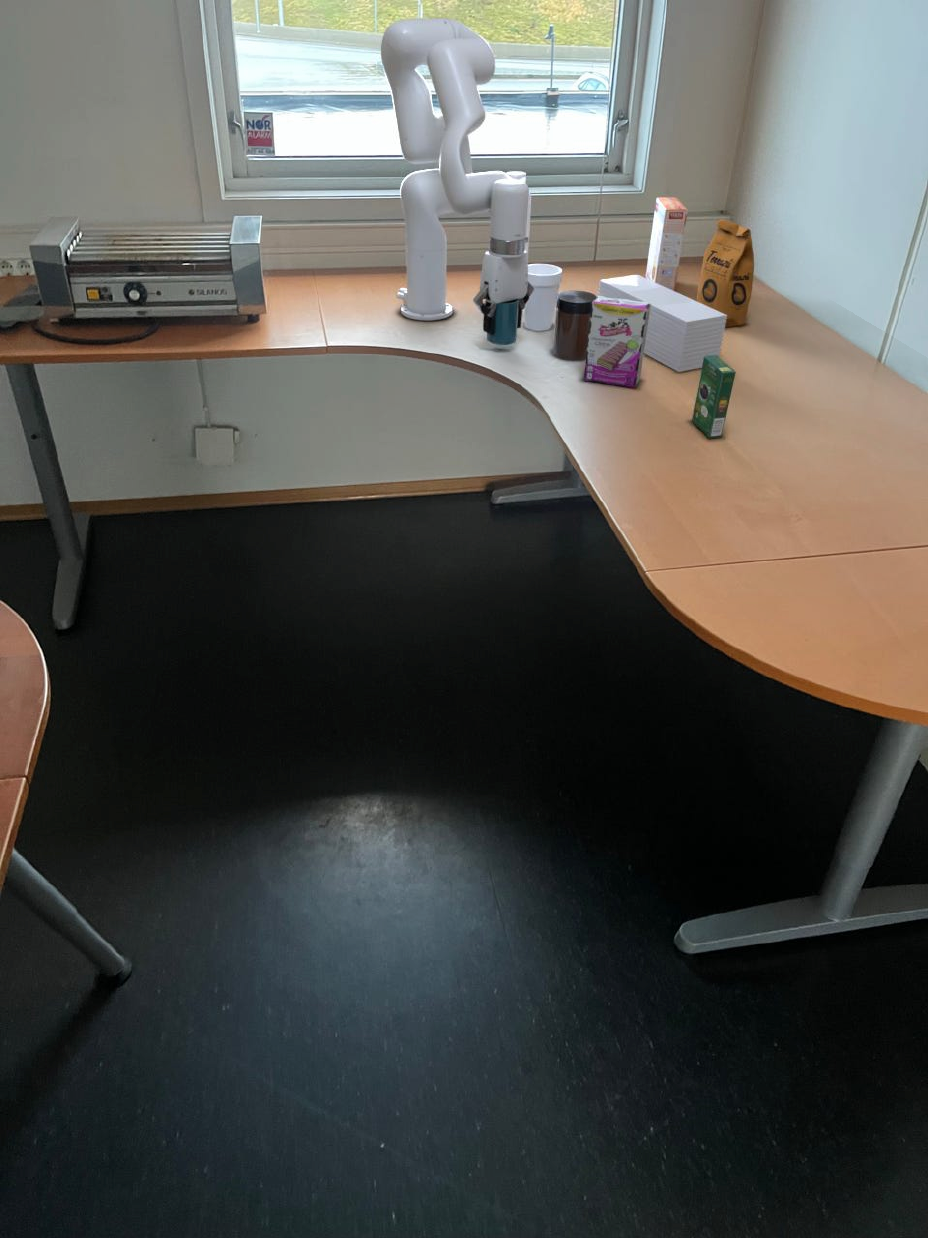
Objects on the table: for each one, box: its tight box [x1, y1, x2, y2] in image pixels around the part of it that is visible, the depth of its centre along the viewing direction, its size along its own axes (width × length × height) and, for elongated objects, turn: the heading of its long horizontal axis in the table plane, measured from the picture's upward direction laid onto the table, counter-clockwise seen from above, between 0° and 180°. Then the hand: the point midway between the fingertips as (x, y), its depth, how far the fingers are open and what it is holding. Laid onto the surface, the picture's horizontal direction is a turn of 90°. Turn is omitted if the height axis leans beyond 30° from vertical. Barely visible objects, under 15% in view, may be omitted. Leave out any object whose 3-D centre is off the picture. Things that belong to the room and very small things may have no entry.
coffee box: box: [691, 355, 737, 440], centre depth 168 cm, size 8×3×13 cm, turn 13°
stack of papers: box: [597, 274, 727, 373], centre depth 205 cm, size 32×11×11 cm, turn 27°
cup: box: [486, 299, 519, 346], centre depth 200 cm, size 7×7×9 cm
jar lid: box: [555, 290, 597, 314], centre depth 196 cm, size 8×8×2 cm
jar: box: [552, 306, 591, 362], centre depth 199 cm, size 8×8×12 cm
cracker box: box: [644, 196, 688, 292], centre depth 237 cm, size 14×6×21 cm, turn 179°
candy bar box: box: [583, 295, 651, 389], centre depth 185 cm, size 11×5×16 cm, turn 71°
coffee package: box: [696, 218, 755, 328], centre depth 216 cm, size 10×12×22 cm
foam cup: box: [522, 263, 563, 332], centre depth 213 cm, size 10×9×13 cm
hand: (502, 328), depth 202 cm, fingers closed on cup, 6 cm apart
